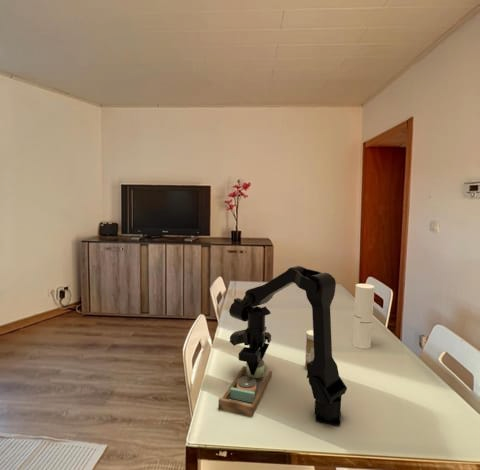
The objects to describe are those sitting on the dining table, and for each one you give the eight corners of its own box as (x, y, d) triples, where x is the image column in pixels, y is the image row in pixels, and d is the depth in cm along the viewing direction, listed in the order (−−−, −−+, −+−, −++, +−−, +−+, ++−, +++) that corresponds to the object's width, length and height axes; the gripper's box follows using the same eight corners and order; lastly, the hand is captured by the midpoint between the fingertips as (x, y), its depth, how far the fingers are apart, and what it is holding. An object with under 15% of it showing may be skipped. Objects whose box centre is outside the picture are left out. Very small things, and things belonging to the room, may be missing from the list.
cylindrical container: (357, 340, 150) (360, 282, 147) (373, 345, 145) (377, 286, 142) (349, 344, 145) (352, 285, 142) (365, 350, 140) (369, 289, 137)
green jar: (266, 370, 120) (266, 359, 119) (261, 379, 114) (261, 367, 114) (249, 367, 122) (249, 356, 121) (243, 375, 116) (244, 364, 115)
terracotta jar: (258, 390, 111) (258, 378, 110) (252, 400, 105) (253, 388, 105) (240, 386, 113) (240, 374, 112) (233, 396, 107) (234, 384, 107)
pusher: (254, 400, 105) (255, 391, 104) (253, 403, 104) (253, 394, 103) (231, 395, 107) (231, 387, 107) (230, 398, 106) (230, 389, 106)
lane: (271, 376, 119) (271, 367, 119) (252, 417, 97) (252, 406, 97) (243, 371, 122) (243, 362, 122) (218, 409, 101) (218, 399, 100)
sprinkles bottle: (303, 365, 127) (304, 329, 125) (315, 365, 127) (317, 329, 126) (306, 372, 122) (308, 334, 121) (319, 371, 123) (321, 334, 121)
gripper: (241, 313, 127) (241, 354, 129) (223, 332, 110) (222, 379, 111) (272, 317, 124) (270, 359, 125) (257, 337, 106) (256, 386, 108)
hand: (255, 370), depth 118 cm, fingers closed on green jar, 6 cm apart
